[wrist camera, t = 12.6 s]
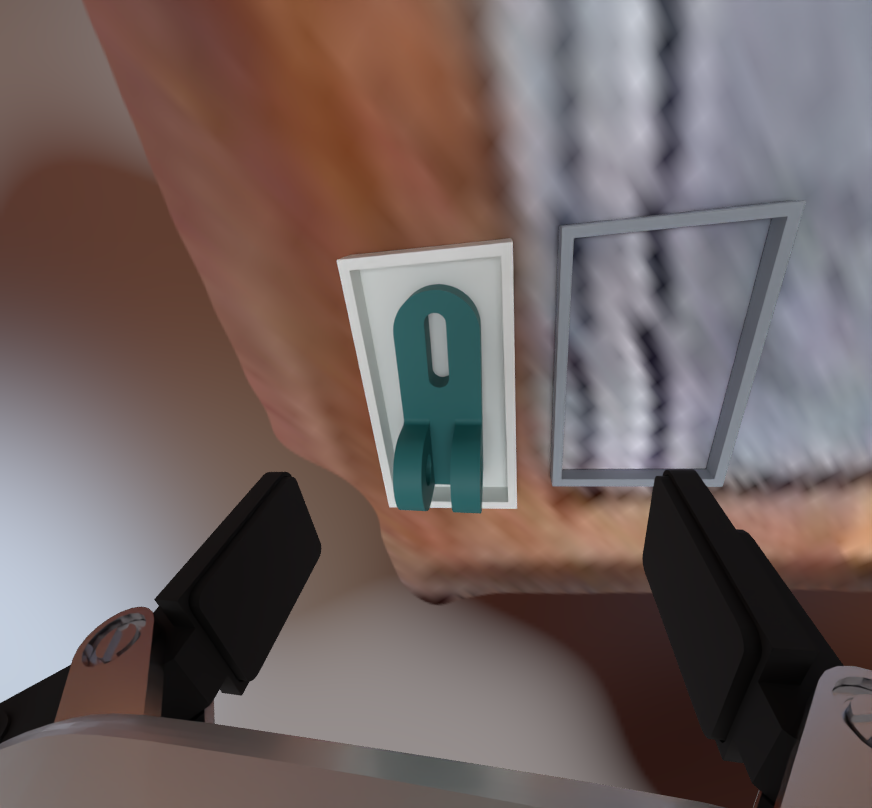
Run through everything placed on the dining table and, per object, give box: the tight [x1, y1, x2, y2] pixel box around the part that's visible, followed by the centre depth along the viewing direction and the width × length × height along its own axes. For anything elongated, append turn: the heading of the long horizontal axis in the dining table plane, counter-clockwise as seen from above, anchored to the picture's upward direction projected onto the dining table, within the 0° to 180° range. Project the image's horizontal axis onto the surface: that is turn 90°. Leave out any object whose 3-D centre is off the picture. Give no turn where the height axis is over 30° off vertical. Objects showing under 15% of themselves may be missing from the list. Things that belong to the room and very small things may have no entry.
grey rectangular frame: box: [550, 201, 806, 487], centre depth 31 cm, size 15×23×2 cm, turn 6°
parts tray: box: [337, 238, 517, 509], centre depth 33 cm, size 13×24×3 cm, turn 6°
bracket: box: [393, 284, 483, 513], centre depth 31 cm, size 18×7×8 cm, turn 4°
